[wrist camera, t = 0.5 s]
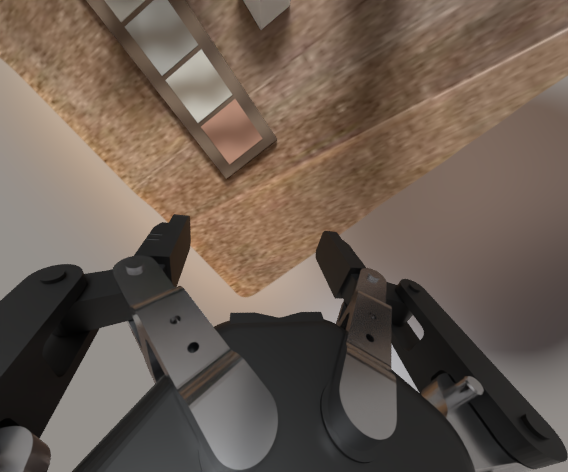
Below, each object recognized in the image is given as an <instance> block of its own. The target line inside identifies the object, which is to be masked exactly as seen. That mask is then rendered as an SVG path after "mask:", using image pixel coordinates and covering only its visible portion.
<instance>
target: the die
mask: <svg viewBox="0 0 568 472" xmlns="http://www.w3.org/2000/svg"><path fill="white" fill-rule="evenodd" d="M243 1H244V3H245V5H246V6H247V8H248V10H249V11H250V13H251V15H252V16H253V18H254V20H255V21H256V23H257V25H258V26H259V28H260V30H262V29H263V28H264V27H265V26H266V25H268V24H269V23H270V22H271V21H272V20H274V19H275V18H276V17H277V16H278V15H280V14H281V13H282V12H283V11H284V10H285V9H287V8H288V7H289V6H290V2H291V0H243Z"/></svg>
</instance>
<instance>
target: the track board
mask: <svg viewBox="0 0 568 472" xmlns="http://www.w3.org/2000/svg"><path fill="white" fill-rule="evenodd" d="M86 1H87V2H88V3H89V5H90V6H91V7H92V8H93V10H94V11H95V12H96V14H97V15H98V16H99V17H100V19H101V20H102V21H103V22H104V24H105V25H106V26H107V28H108V29H109V30H110V31H111V33H112V34H113V35H114V37H115V38H116V39H117V40H118V42H119V43H120V44H121V45H122V47H123V48H124V49H125V51H126V52H127V53H128V54H129V56H130V57H131V58H132V59H133V61H134V62H135V63H136V65H137V66H138V67H139V68H140V70H141V71H142V72H143V73H144V75H145V76H146V77H147V79H148V80H149V81H150V82H151V84H152V85H153V86H154V88H155V89H156V90H157V91H158V93H159V94H160V95H161V96H162V98H163V99H164V100H165V102H166V103H167V104H168V105H169V107H170V108H171V109H172V110H173V112H174V113H175V114H176V116H177V117H178V118H179V119H180V121H181V122H182V123H183V124H184V126H185V127H186V128H187V130H188V131H189V132H190V133H191V135H192V136H193V137H194V138H195V140H196V141H197V142H198V144H199V145H200V146H201V147H202V149H203V150H204V151H205V153H206V154H207V155H208V156H209V158H210V159H211V160H212V161H213V163H214V164H215V165H216V167H217V168H218V169H219V170H220V172H221V173H222V174H223V175H224V177H225V178H226V179H228V178H229V177H230V176H232V175H233V174H234V173H235V172H237V171H238V170H239V169H241V168H242V167H243V166H244V165H246V164H247V163H248V162H250V161H251V160H252V159H253V158H255V157H256V156H257V155H259V154H260V153H261V152H262V151H264V150H265V149H266V148H268V147H269V146H270V145H271V144H273V143H274V142H275V141H277V138H276V136H275V135H274V133H273V132H272V130H271V129H270V127H269V126H268V124H267V123H266V121H265V120H264V118H263V117H262V115H261V114H260V112H259V111H258V109H257V108H256V106H255V105H254V103H253V102H252V100H251V99H250V97H249V96H248V94H247V93H246V91H245V90H244V88H243V87H242V85H241V84H240V82H239V81H238V79H237V78H236V76H235V75H234V73H233V72H232V70H231V69H230V67H229V66H228V64H227V63H226V61H225V60H224V58H223V57H222V55H221V54H220V52H219V51H218V49H217V48H216V46H215V45H214V43H213V42H212V40H211V38H210V37H209V35H208V34H207V32H206V31H205V29H204V28H203V26H202V25H201V23H200V22H199V20H198V19H197V17H196V16H195V14H194V13H193V11H192V10H191V8H190V7H189V5H188V4H187V2H186V1H185V0H86Z"/></svg>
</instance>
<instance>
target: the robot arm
mask: <svg viewBox="0 0 568 472" xmlns="http://www.w3.org/2000/svg"><path fill="white" fill-rule="evenodd" d="M190 242H191V236H190V216H185V215H176V214H174V215H173V217H172V218H171V220H170V222H169V223H163V222H162V223H160V224H159V225H157V226H155V227H154V228H153V229H152V230H151V232H150V234H149V235H148V236H147V238H146V239H145V241H144V242H143V243H142V245H141V246H140V248H139V249H138V251H137V252H136V254H135V255H134V256H132V257H128V258H125V259H123V260H121V261H119V262H118V263H117V264H116V265H115V266H114V267H113V269H112V270H108V271H102V272H95V273H88V274H84V273H83V271H82V269H81V268H80V267H79V266H76V265H71V264H62V265H55V266H50V267H47V268H43V269H41V270H38V271H36V272H34V273H32V274H31V275H29V276H28V277H27V278H25V279H24V280H23V281H22V282H21V283H20V284H19V285H17V286H16V287H15V288H14V289H13V290H12V291H11V292H10V293H9V294H8V295H6V296H5V297H4V298H3V299H2V300H1V301H0V472H47V470H48V467H49V465H50V460H51V452H50V448H49V447H48V445H47V444H45V443H44V442H43V441H42V440H40V439H39V438H40V436H41V435H42V433H43V431H44V429H45V427H46V425H47V424H48V422H49V419H50V418H51V416H52V414H53V413H54V411H55V409H56V407H57V405H58V404H59V401H60V399H61V398H62V396H63V394H64V392H65V390H66V389H67V387H68V385H69V383H70V381H71V380H72V378H73V376H74V374H75V372H76V371H77V369H78V367H79V365H80V363H81V361H82V360H83V358H84V356H85V354H86V352H87V350H88V349H89V347H90V345H91V343H92V341H93V339H94V337H95V336H96V334H97V332H98V330H99V328H101V327H105V326H109V325H113V324H117V323H121V322H125V321H127V323H128V325H129V327H130V329H131V331H132V333H133V335H134V337H135V339H136V341H137V343H138V345H139V348H140V350H141V352H142V354H143V356H144V359H145V362H146V364H147V367H148V369H149V372H150V374H151V376H152V378H153V380H154V383H155V385H154V386H153V387H152V388H151V389H150V390H149V391H148V392H147V393H146V395H144V396H143V397H142V398H141V400H139V402H138V403H137V404H136V405H135V406H134V407H133V408H132V409H131V410H130V411H129V412H128V413H127V414H126V415H125V416H124V417H123V419H121V420H120V422H119V423H118V424H117V425H116V426H115V427H114V428H113V429H112V430H111V431H110V432H109V433H108V434H107V435H106V436H105V437H104V438H103V439H102V441H101V442H99V444H98V445H97V446H96V447H95V448H94V449H93V450H92V451H91V452H90V453H89V454H88V455H87V456H86V457H85V458H84V459H83V460H82V461H81V463H80V464H79V465H78V466H77V467H76V468H75V469H74V470H73V471H72V472H528V471H531V470H534V469H538V468H542V467H546V466H549V465H553V464H556V463H560V462H563V461H566V460H567V451H566V449H565V446H564V444H563V442H562V441H561V439H560V438H559V436H558V435H557V434H556V433H555V431H554V430H553V429H552V428H551V426H550V425H549V424H548V423H547V422H546V421H545V420H544V419H543V418H542V417H541V415H539V413H538V412H537V411H536V410H535V409H534V408H533V407H532V406H531V405H530V404H529V402H527V400H526V399H525V398H524V397H523V396H522V395H521V394H520V393H519V391H518V390H516V388H515V387H514V386H513V385H512V384H511V383H510V382H509V381H508V380H507V378H506V377H505V376H504V375H503V374H502V373H501V372H500V371H499V370H498V369H497V368H496V366H494V364H493V363H492V362H491V361H490V360H489V359H488V358H487V357H486V356H485V355H484V354H483V352H482V351H481V350H480V349H479V348H478V347H477V346H476V345H475V344H474V343H473V341H472V340H471V339H470V338H469V337H468V336H467V335H466V334H465V333H464V332H463V331H462V329H461V328H460V327H459V326H458V325H457V324H456V323H455V322H454V321H453V320H452V319H451V317H450V316H449V315H448V314H447V313H446V312H445V311H444V310H443V309H442V308H441V307H440V306H439V305H438V303H437V302H436V301H435V300H434V299H433V298H432V297H431V296H430V295H429V294H428V293H427V291H426V290H425V289H424V288H423V287H422V286H420V285H419V284H417V283H416V282H414V281H411V280H408V279H402V280H401V281H400V282H399V284H398V285H395V284H391V283H388V282H386V280H385V278H384V277H383V276H382V275H381V274H380V273H379V272H377V271H375V270H373V269H369V268H366V267H365V266H364V264H363V263H362V262H361V260H360V259H359V258H358V256H357V255H356V254H355V252H354V251H353V250H352V248H351V247H350V246H349V245H348V244H347V243H346V242H345V241H343V240H342V239H341V237H340V236H339V235H338V233H337V232H331V231H324V232H323V234H322V236H321V239H320V242H319V244H318V247H317V249H316V260H317V262H318V264H319V266H320V268H321V270H322V272H323V274H324V276H325V278H326V281H327V283H328V285H329V287H330V289H331V291H332V293H333V295H334V297H335V298H343V299H344V302H343V303H342V306H341V309H340V312H339V316H338V318H337V322H336V324H335V323H332V322H330V321H327V320H324V319H323V316H322V314H321V312H300V313H296V314H292V315H289V316H286V317H281V318H277V317H273V316H268V315H263V314H259V313H231V314H230V321H227V322H224V323H221V324H219V325H217V326H215V327H213V326H212V324H211V323H210V322H209V321H208V319H207V318H206V317H205V315H204V314H203V313H202V311H201V310H200V309H199V307H198V306H197V305H196V304H195V302H194V301H193V300H192V298H191V297H190V296H189V294H188V293H187V292H186V291H185V289H184V288H183V287H181V286H178V287H177V284H178V281H179V278H180V275H181V273H182V270H183V267H184V264H185V261H186V258H187V255H188V252H189V249H190ZM412 315H414V317H415V318H416V319H417V321H418V322H419V323H420V325H421V326H422V328H423V330H424V336H423V338H422V339H421V340H419V338H418V337H417V335H416V334H415V333H414V331H413V330H412V328H411V327H410V325H409V324H408V323H407V321H408V320H409V319H410V318H411V316H412ZM391 343H392V345H393V347H394V349H395V350H396V352H397V354H398V356H399V357H400V359H401V361H402V363H403V364H404V366H405V368H406V370H407V371H408V373H409V375H410V377H411V378H412V380H413V382H414V384H415V385H416V387H417V389H418V391H419V392H420V393H418V392H417V391H416V390H415V389H414V388H412V387H411V386H410V385H409V384H407V382H405V381H404V380H403V379H402V378H401V377H400V376H398V375H397V374H396V373H395V372H394V371H393V370H392V369H391Z"/></svg>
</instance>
